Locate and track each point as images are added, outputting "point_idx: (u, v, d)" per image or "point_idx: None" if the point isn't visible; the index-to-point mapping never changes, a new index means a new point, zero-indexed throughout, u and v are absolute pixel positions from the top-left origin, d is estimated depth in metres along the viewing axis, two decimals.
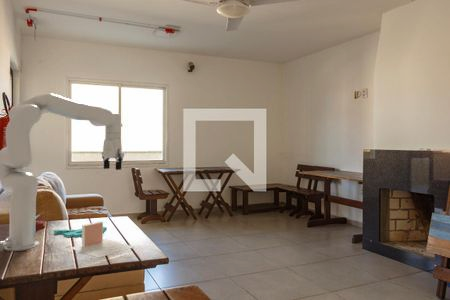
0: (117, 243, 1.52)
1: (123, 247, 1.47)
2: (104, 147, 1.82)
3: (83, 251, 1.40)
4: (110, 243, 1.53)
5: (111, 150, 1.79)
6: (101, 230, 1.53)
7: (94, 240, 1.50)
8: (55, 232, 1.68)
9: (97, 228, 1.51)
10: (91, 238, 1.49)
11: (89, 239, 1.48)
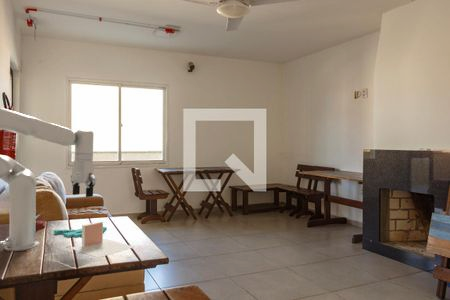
0: (117, 243, 1.52)
1: (123, 247, 1.47)
2: (73, 170, 1.56)
3: (83, 251, 1.40)
4: (110, 243, 1.53)
5: (81, 174, 1.53)
6: (101, 230, 1.53)
7: (94, 240, 1.50)
8: (55, 232, 1.68)
9: (97, 228, 1.51)
10: (91, 238, 1.49)
11: (89, 239, 1.48)
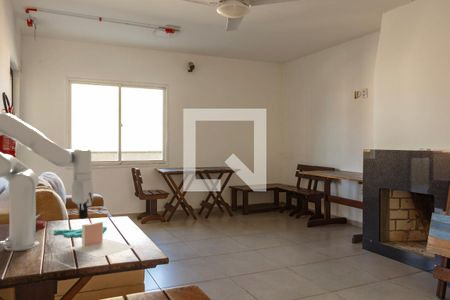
0: (117, 243, 1.52)
1: (123, 247, 1.47)
2: (73, 190, 1.55)
3: (83, 251, 1.40)
4: (110, 243, 1.53)
5: (80, 194, 1.51)
6: (101, 230, 1.53)
7: (94, 240, 1.50)
8: (55, 232, 1.68)
9: (97, 228, 1.51)
10: (91, 238, 1.49)
11: (89, 239, 1.48)
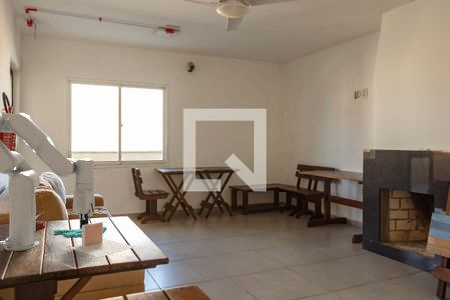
0: (117, 243, 1.52)
1: (123, 247, 1.47)
2: (74, 200, 1.54)
3: (83, 251, 1.40)
4: (110, 243, 1.53)
5: (82, 204, 1.50)
6: (101, 230, 1.53)
7: (94, 240, 1.50)
8: (55, 232, 1.68)
9: (97, 228, 1.51)
10: (91, 238, 1.49)
11: (89, 239, 1.48)
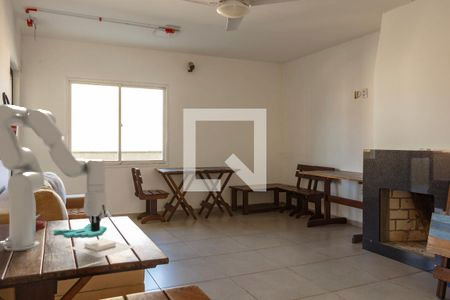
0: (117, 243, 1.52)
1: (123, 247, 1.47)
2: (85, 202, 1.49)
3: (83, 251, 1.40)
4: None
5: (93, 206, 1.45)
6: None
7: None
8: (55, 232, 1.68)
9: None
10: None
11: None
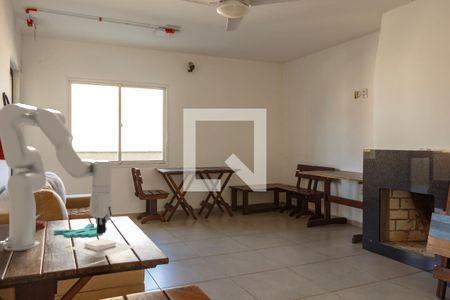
0: (117, 243, 1.52)
1: (123, 247, 1.47)
2: (91, 203, 1.46)
3: (83, 251, 1.40)
4: None
5: (99, 208, 1.43)
6: None
7: None
8: (55, 232, 1.68)
9: None
10: None
11: None
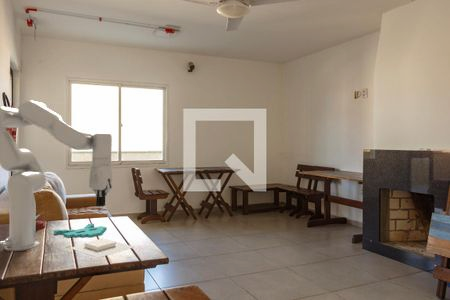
0: (117, 243, 1.52)
1: (123, 247, 1.47)
2: (91, 175, 1.46)
3: (83, 251, 1.40)
4: None
5: (99, 180, 1.43)
6: None
7: None
8: (55, 232, 1.68)
9: None
10: None
11: None
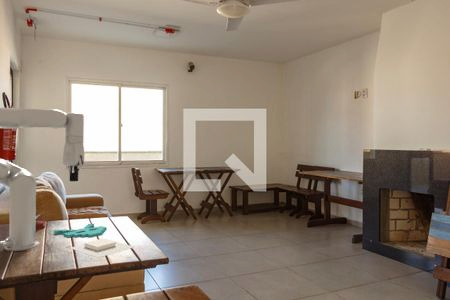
0: (117, 243, 1.52)
1: (123, 247, 1.47)
2: (64, 153, 1.56)
3: (83, 251, 1.40)
4: None
5: (71, 156, 1.53)
6: None
7: None
8: (55, 232, 1.68)
9: None
10: None
11: None
